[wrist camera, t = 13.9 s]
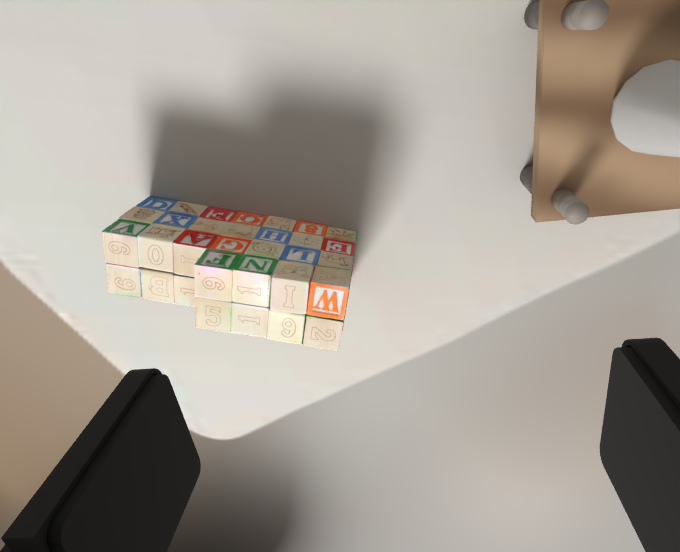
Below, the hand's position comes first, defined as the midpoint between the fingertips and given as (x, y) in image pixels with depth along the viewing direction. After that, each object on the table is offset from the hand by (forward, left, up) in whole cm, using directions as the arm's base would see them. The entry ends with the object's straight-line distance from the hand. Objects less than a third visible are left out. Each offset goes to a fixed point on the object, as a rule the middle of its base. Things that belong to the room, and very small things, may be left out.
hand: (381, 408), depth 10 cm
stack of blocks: (+10, -15, -37) cm, 41 cm away
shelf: (0, +18, -36) cm, 41 cm away
